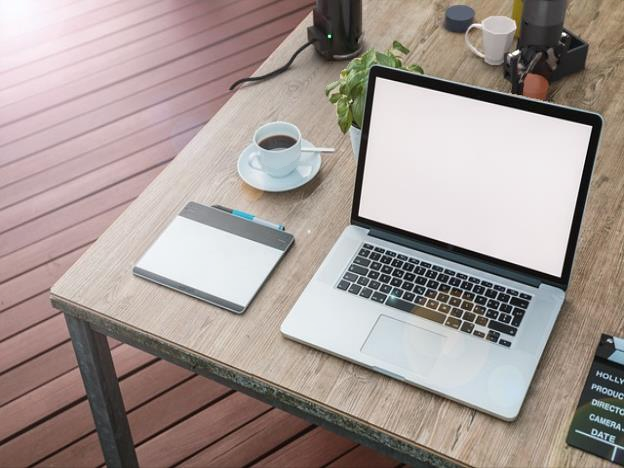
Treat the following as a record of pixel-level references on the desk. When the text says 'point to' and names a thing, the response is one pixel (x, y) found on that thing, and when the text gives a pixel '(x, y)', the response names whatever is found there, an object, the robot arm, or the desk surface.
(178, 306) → the desk surface
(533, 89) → the terracotta disc
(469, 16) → the dark blue short cylinder
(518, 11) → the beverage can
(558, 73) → the tub
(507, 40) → the cup
